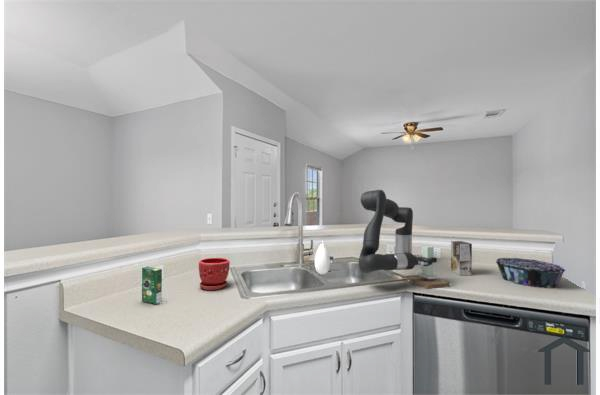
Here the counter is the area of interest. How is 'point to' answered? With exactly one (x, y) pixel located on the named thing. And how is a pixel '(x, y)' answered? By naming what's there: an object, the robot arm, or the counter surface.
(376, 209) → the robot arm
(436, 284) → the wooden cutting board
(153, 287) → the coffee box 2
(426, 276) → the mint green tall block
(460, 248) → the coffee box
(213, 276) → the plant pot
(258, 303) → the counter surface
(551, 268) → the decorative bowl
